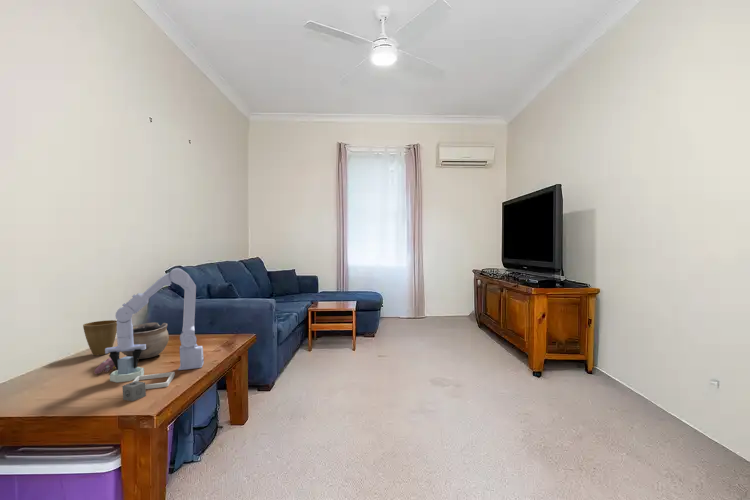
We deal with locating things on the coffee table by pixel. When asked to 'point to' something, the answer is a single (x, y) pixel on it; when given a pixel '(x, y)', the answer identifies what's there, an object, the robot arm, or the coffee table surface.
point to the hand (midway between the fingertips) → (127, 368)
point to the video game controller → (105, 366)
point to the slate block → (126, 365)
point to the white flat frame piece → (156, 385)
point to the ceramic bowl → (149, 339)
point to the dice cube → (134, 391)
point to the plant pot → (100, 335)
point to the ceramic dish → (126, 375)
